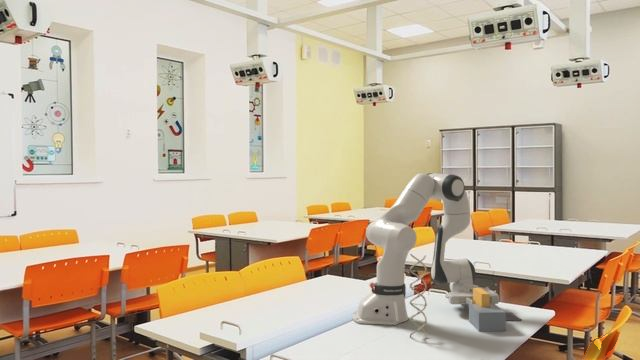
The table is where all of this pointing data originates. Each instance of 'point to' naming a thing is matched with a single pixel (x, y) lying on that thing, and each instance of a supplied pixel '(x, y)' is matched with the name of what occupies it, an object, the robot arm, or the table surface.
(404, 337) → the table surface
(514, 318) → the mat
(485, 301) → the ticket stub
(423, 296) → the dna model
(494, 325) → the box
